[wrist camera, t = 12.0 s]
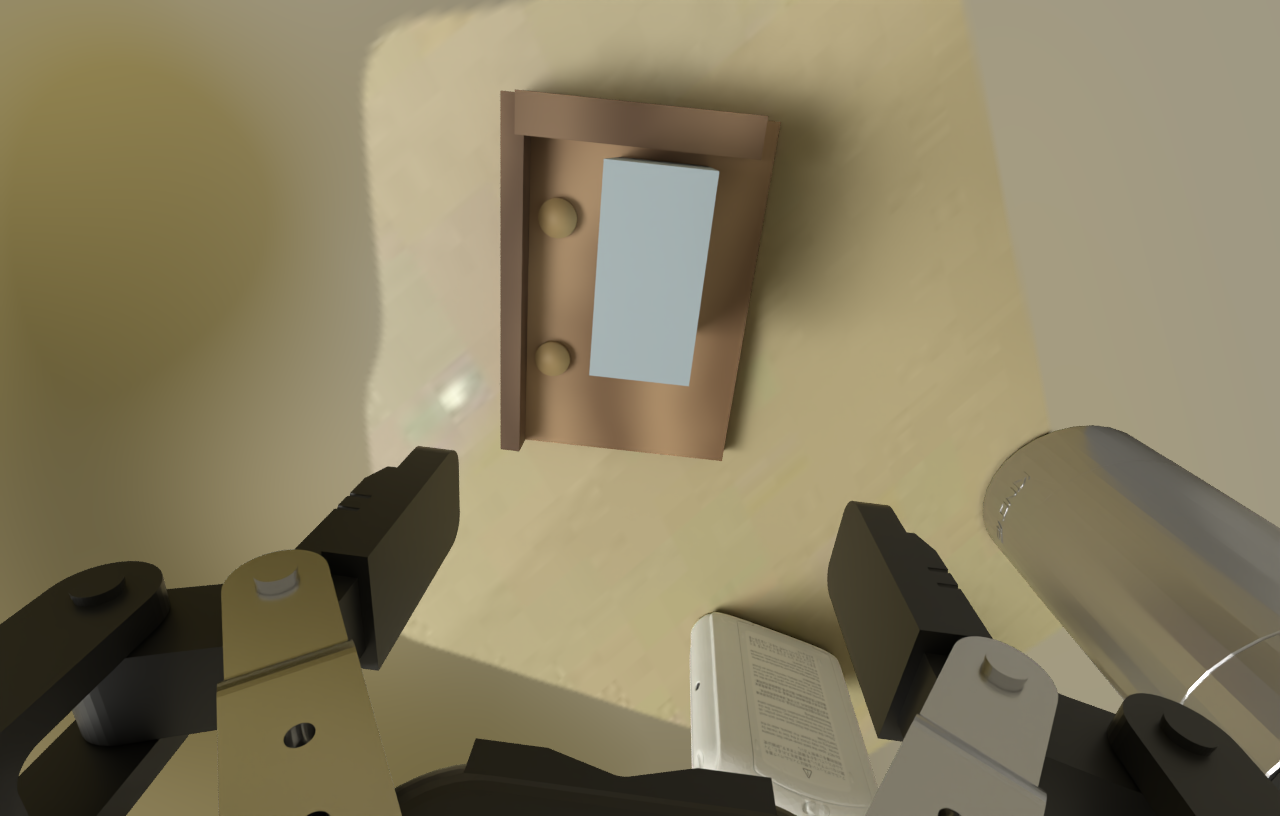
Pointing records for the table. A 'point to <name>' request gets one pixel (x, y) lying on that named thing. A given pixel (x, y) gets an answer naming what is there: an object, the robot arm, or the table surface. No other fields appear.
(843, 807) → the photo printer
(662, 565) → the table surface
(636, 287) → the tall pale blue block
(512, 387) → the board
